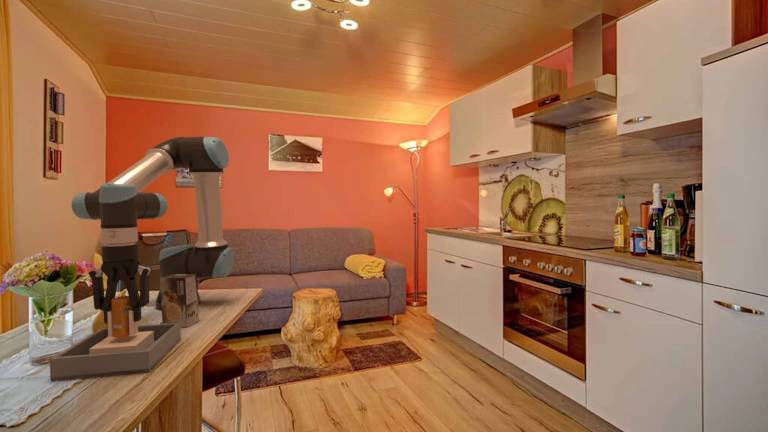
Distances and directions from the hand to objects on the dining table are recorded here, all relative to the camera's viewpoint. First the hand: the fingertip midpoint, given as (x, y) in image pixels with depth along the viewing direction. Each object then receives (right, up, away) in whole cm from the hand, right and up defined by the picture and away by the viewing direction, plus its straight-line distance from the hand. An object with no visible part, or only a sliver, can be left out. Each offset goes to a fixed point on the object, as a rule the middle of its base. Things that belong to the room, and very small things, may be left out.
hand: (123, 334), depth 91 cm
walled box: (0, -6, 0) cm, 6 cm away
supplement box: (0, -1, 0) cm, 1 cm away
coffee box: (0, -5, +26) cm, 26 cm away
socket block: (0, -6, 0) cm, 6 cm away
